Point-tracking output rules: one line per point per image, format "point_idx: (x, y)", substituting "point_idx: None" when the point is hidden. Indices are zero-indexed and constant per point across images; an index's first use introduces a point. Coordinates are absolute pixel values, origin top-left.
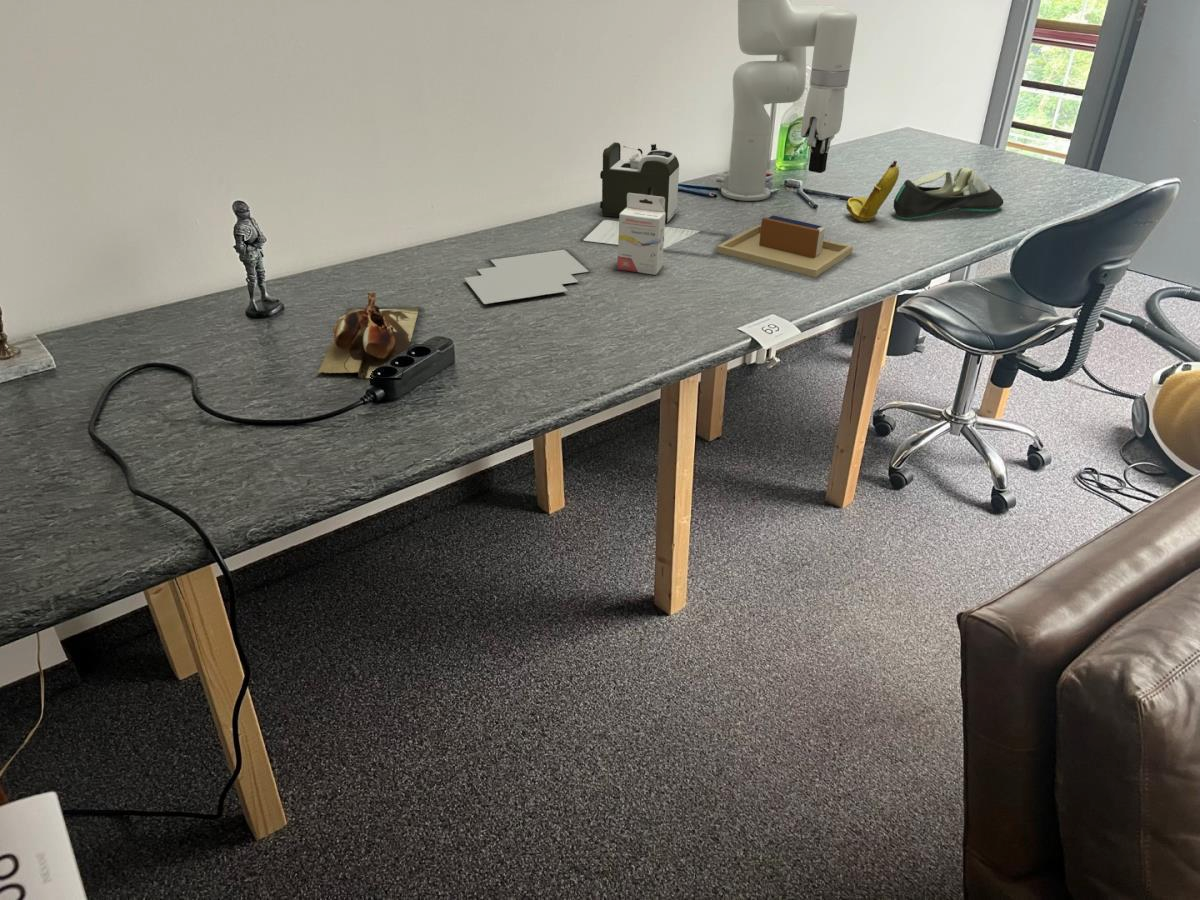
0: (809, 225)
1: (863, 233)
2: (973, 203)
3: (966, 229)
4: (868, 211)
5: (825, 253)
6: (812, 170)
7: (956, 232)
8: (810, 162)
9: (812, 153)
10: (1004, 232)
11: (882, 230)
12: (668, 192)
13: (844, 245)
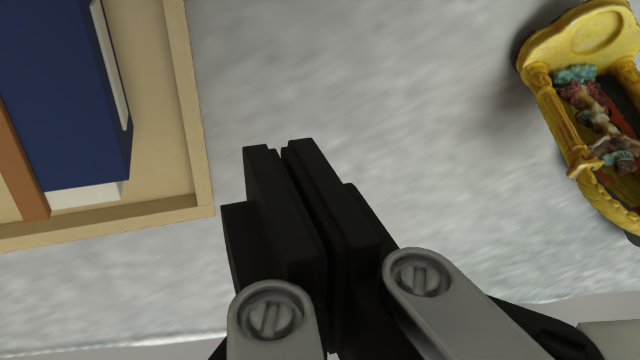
0: (83, 144)
1: (419, 121)
2: (636, 242)
3: (538, 249)
4: (535, 97)
5: (138, 155)
6: (247, 181)
7: (514, 248)
8: (257, 196)
9: (281, 271)
10: (541, 289)
11: (467, 144)
12: None
13: (201, 197)
